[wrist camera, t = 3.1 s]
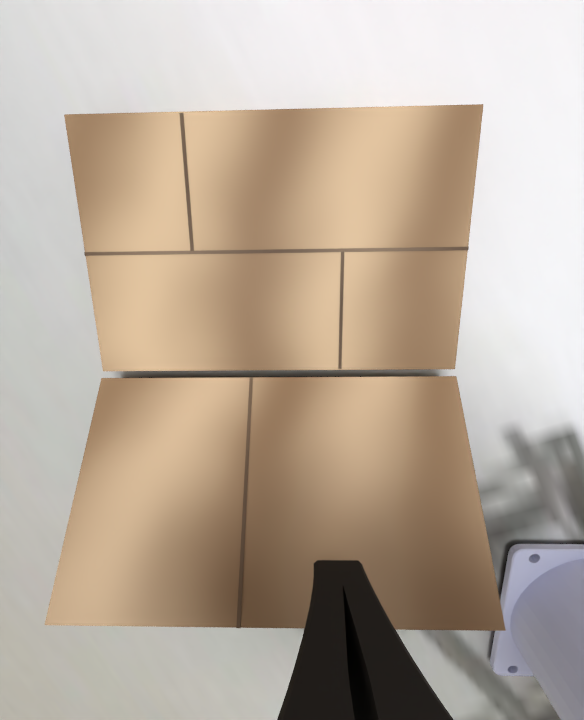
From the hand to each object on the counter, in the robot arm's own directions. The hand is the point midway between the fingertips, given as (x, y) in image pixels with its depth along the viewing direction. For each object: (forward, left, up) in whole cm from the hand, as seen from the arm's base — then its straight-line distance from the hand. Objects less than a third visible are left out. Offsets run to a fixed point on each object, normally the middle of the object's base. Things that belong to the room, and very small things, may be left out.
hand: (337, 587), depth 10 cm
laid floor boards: (+2, -10, -6) cm, 12 cm away
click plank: (+2, -1, -3) cm, 4 cm away
